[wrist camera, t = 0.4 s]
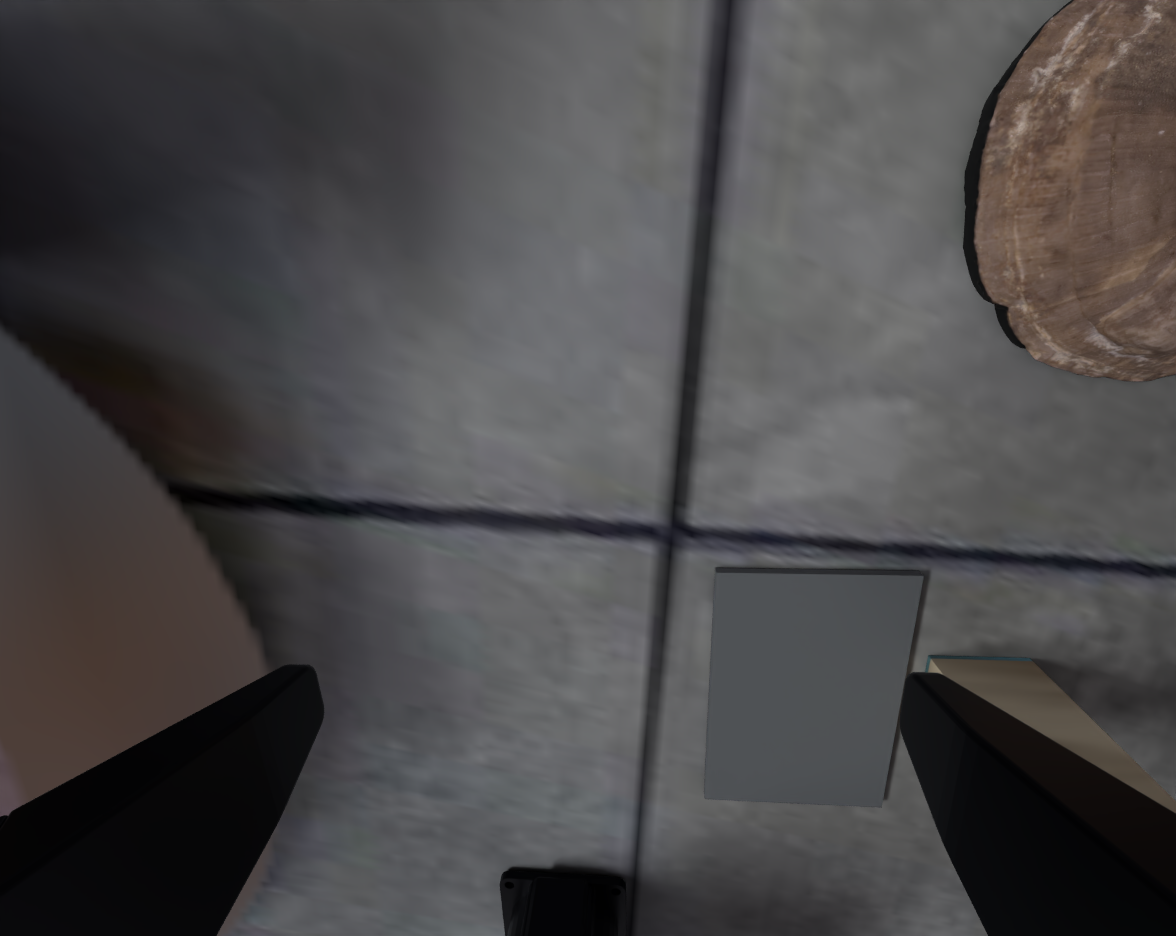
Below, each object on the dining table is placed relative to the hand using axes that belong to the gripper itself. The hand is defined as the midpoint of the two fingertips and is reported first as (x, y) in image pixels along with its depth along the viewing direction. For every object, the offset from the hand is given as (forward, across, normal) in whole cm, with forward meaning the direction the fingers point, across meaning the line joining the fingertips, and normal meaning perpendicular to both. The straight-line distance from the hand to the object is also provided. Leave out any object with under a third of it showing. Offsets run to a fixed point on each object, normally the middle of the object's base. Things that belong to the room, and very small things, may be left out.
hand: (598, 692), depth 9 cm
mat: (+14, -8, +12) cm, 20 cm away
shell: (+15, -17, -8) cm, 24 cm away
